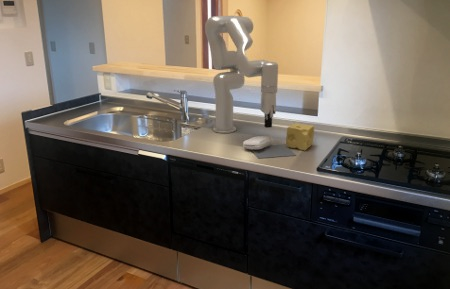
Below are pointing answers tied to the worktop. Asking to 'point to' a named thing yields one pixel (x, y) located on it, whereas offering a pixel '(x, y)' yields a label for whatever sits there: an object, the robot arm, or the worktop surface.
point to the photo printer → (257, 142)
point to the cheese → (299, 136)
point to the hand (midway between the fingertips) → (268, 126)
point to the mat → (273, 151)
